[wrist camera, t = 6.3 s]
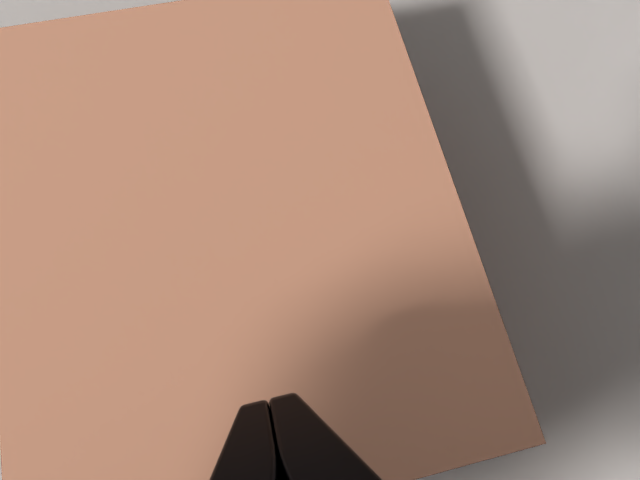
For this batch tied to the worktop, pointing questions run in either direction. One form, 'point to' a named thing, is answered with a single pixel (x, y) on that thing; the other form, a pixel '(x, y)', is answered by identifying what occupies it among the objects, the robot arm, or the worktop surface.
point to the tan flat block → (236, 246)
